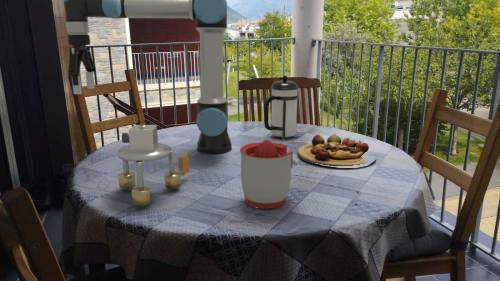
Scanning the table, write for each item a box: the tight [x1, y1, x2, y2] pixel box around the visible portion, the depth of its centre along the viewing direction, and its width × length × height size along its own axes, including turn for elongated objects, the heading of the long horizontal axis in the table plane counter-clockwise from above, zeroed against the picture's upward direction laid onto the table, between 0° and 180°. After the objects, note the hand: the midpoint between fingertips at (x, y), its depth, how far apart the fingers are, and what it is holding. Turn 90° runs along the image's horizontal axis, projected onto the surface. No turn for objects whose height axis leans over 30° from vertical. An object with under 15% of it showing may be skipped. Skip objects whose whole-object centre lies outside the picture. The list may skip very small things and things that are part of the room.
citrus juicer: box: [239, 139, 298, 209], centre depth 121 cm, size 16×17×20 cm
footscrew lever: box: [163, 149, 190, 190], centre depth 134 cm, size 13×5×13 cm, turn 162°
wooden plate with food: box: [296, 133, 370, 166], centre depth 167 cm, size 32×32×8 cm
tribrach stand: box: [117, 124, 172, 209], centre depth 124 cm, size 18×19×23 cm
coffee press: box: [263, 75, 299, 140], centre depth 192 cm, size 17×16×30 cm
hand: (84, 91), depth 154 cm, fingers open, 13 cm apart
